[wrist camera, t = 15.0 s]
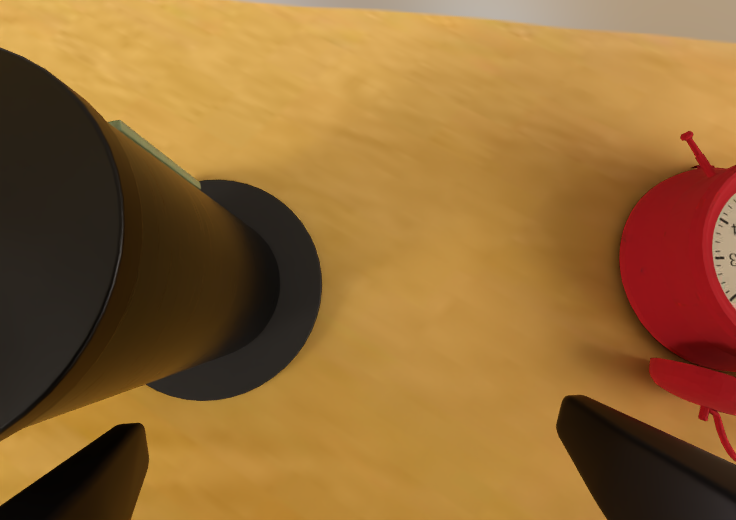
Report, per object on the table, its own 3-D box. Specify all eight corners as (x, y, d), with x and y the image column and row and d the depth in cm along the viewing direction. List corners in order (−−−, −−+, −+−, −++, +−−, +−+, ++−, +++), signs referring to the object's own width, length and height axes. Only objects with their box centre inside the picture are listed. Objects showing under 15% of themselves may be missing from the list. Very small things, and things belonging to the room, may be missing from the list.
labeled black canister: (294, 343, 17) (148, 423, 5) (97, 384, 17) (-545, 573, 5) (269, 202, 18) (97, 2, 6) (82, 238, 18) (-490, 94, 6)
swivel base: (317, 401, 17) (316, 403, 17) (89, 396, 17) (83, 398, 17) (326, 185, 19) (325, 183, 18) (116, 178, 19) (111, 175, 18)
